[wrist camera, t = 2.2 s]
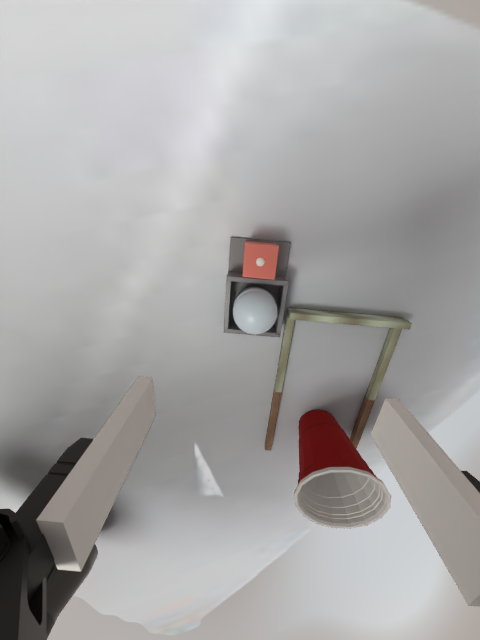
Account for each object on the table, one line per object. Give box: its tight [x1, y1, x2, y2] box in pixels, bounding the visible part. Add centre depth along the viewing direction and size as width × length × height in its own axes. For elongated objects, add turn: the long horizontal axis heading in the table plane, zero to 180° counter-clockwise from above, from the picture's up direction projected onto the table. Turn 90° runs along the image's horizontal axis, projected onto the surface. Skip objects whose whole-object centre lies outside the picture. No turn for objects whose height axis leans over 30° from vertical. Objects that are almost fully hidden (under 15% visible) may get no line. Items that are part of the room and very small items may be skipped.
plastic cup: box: [294, 410, 391, 529], centre depth 32 cm, size 11×11×12 cm
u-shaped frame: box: [265, 308, 412, 450], centre depth 34 cm, size 15×25×2 cm, turn 176°
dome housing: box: [224, 237, 291, 337], centre depth 28 cm, size 7×11×4 cm, turn 176°
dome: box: [233, 286, 277, 334], centre depth 26 cm, size 5×5×5 cm
